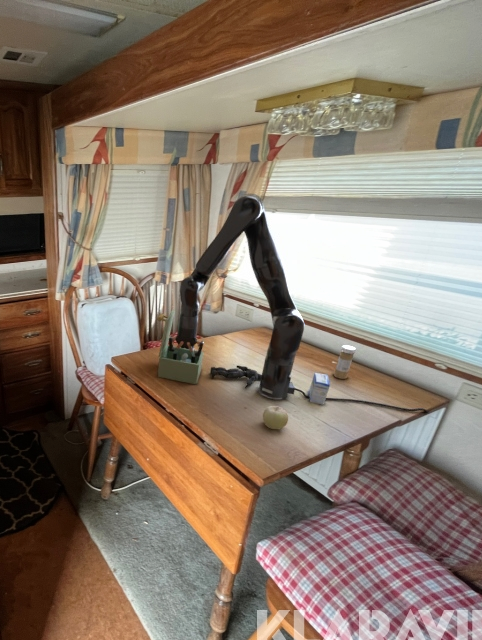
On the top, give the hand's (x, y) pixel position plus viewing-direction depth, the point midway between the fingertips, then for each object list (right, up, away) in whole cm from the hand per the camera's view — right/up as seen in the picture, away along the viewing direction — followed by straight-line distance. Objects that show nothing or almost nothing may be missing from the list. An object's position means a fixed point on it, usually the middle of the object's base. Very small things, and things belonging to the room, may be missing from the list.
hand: (183, 362), depth 149 cm
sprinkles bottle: (+64, -6, -1) cm, 65 cm away
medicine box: (+45, -13, -16) cm, 49 cm away
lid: (-7, +12, -2) cm, 14 cm away
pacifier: (-1, -2, +1) cm, 2 cm away
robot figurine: (+21, -7, -2) cm, 22 cm away
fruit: (+21, -19, -31) cm, 42 cm away
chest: (-1, -5, +3) cm, 6 cm away
